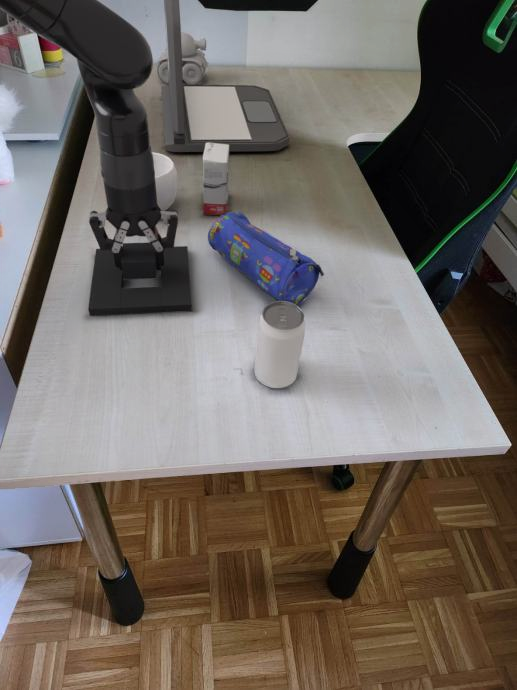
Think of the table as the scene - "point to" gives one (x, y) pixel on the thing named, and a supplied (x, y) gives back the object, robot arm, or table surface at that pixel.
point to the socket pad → (119, 300)
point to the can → (279, 344)
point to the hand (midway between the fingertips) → (140, 266)
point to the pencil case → (264, 258)
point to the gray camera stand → (214, 107)
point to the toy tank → (186, 61)
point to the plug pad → (138, 261)
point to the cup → (165, 180)
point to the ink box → (215, 178)
